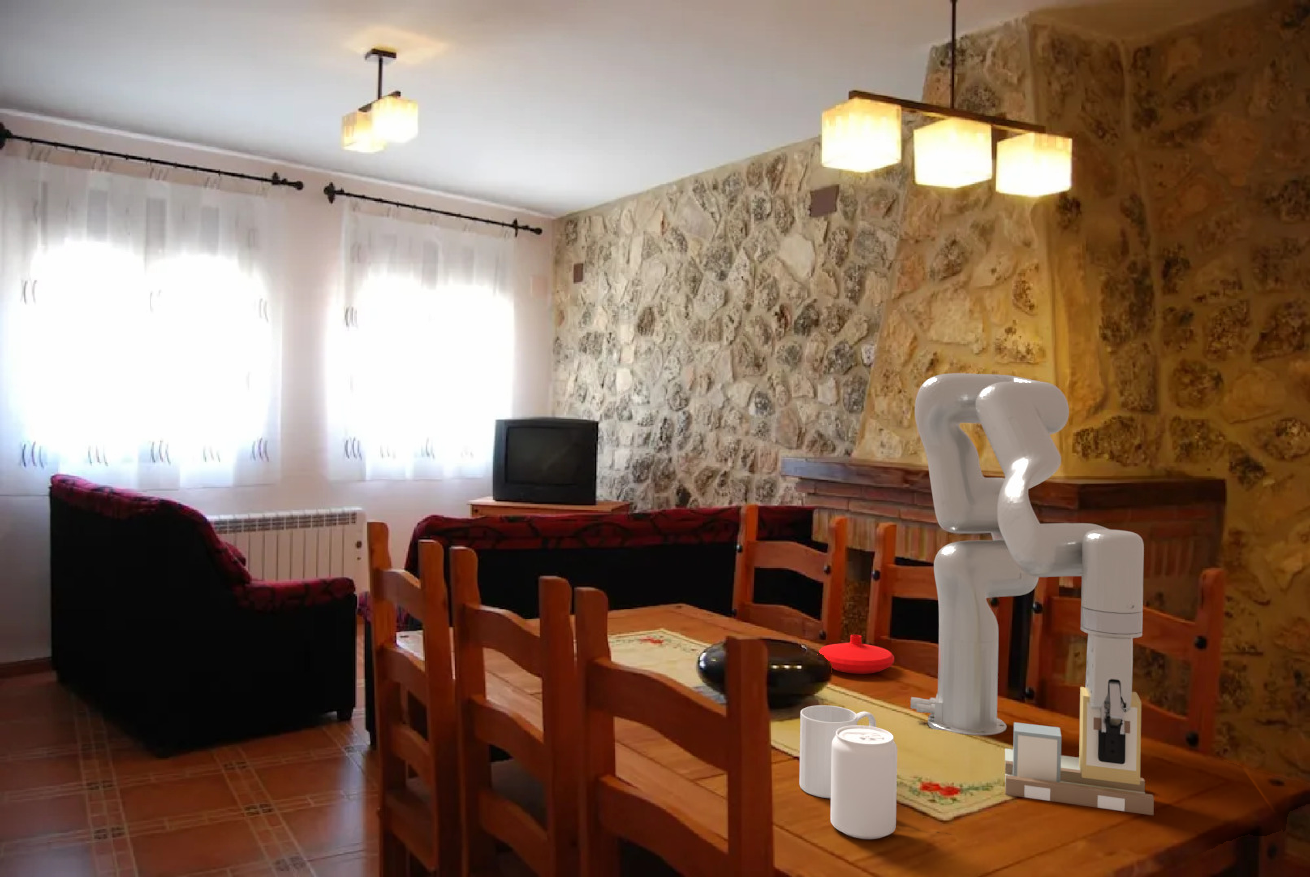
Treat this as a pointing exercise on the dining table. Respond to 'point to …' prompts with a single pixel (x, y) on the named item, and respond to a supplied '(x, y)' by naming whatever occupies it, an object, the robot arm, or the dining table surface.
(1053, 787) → the shelf
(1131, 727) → the carton
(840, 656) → the red disc with nozzle
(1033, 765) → the box
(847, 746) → the beverage can
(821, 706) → the mug
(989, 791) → the dining table surface
